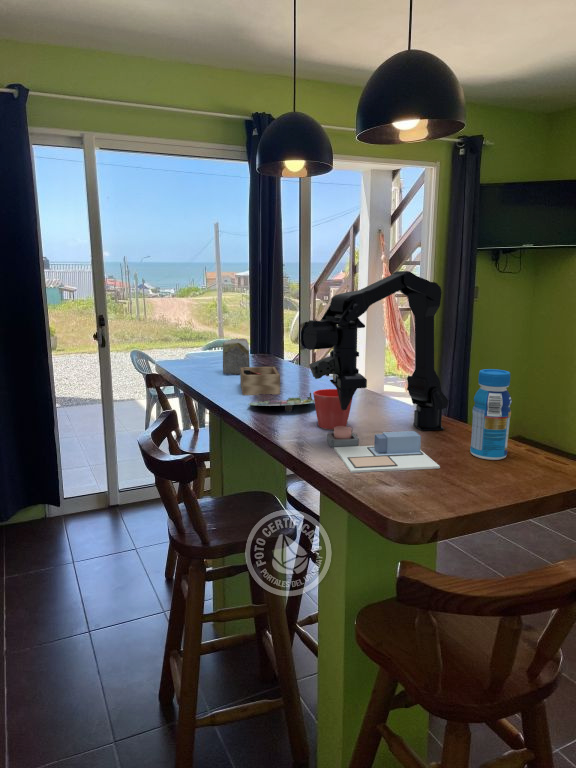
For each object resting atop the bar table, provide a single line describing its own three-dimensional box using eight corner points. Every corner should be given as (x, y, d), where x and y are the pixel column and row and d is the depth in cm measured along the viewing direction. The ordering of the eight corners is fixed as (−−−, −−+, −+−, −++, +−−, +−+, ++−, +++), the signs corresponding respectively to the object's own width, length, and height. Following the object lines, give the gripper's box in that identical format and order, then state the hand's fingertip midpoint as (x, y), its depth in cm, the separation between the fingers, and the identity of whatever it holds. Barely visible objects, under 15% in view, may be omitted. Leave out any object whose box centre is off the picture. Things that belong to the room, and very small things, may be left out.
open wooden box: (274, 384, 208) (274, 366, 206) (279, 394, 191) (279, 374, 190) (240, 385, 206) (240, 367, 204) (243, 395, 189) (242, 375, 188)
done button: (348, 436, 138) (349, 425, 137) (353, 442, 133) (353, 430, 133) (332, 437, 137) (332, 426, 137) (335, 442, 133) (336, 431, 132)
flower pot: (327, 419, 159) (327, 386, 157) (359, 425, 152) (360, 391, 150) (305, 426, 151) (305, 392, 149) (337, 434, 144) (338, 398, 142)
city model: (308, 402, 188) (307, 385, 188) (336, 410, 166) (335, 390, 166) (238, 410, 180) (237, 392, 180) (259, 419, 158) (257, 398, 158)
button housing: (352, 439, 139) (352, 431, 139) (359, 447, 133) (359, 439, 132) (325, 440, 138) (326, 432, 138) (331, 448, 132) (331, 440, 131)
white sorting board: (413, 445, 134) (413, 442, 134) (439, 468, 118) (440, 465, 118) (334, 449, 131) (334, 446, 131) (350, 472, 116) (350, 469, 116)
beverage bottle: (462, 453, 128) (467, 370, 124) (482, 447, 133) (488, 366, 129) (494, 463, 121) (501, 376, 117) (514, 456, 126) (522, 371, 122)
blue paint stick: (413, 447, 131) (414, 431, 130) (420, 452, 127) (420, 436, 126) (373, 448, 129) (374, 432, 129) (378, 454, 126) (379, 437, 125)
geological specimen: (224, 376, 225) (223, 340, 222) (222, 373, 231) (221, 338, 228) (250, 374, 228) (249, 339, 225) (247, 372, 234) (246, 337, 231)
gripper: (305, 342, 139) (305, 402, 142) (319, 353, 120) (319, 420, 124) (347, 342, 140) (346, 400, 143) (368, 352, 122) (366, 419, 125)
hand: (343, 409), depth 134 cm, fingers closed
